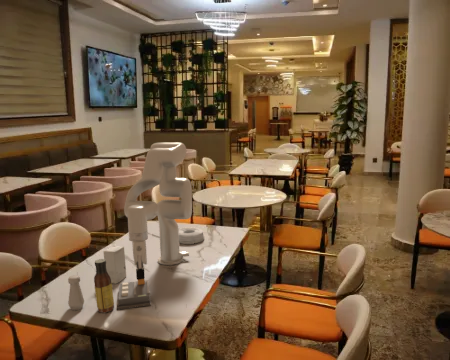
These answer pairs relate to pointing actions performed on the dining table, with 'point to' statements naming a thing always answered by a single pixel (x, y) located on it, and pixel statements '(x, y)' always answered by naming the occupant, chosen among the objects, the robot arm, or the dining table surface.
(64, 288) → the dining table surface
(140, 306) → the dark brown grooved strip
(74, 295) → the salt shaker
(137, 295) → the breaker panel
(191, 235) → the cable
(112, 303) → the sauce bottle
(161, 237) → the robot arm
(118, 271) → the skincare box
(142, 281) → the lever
